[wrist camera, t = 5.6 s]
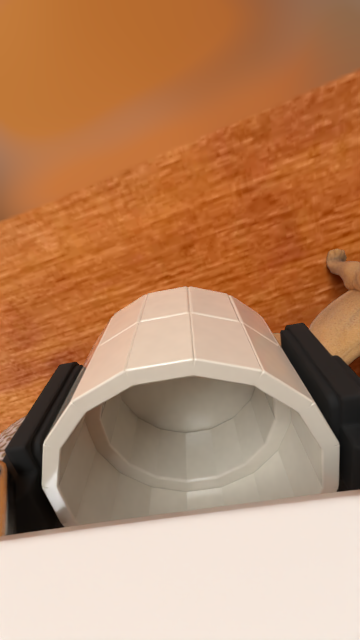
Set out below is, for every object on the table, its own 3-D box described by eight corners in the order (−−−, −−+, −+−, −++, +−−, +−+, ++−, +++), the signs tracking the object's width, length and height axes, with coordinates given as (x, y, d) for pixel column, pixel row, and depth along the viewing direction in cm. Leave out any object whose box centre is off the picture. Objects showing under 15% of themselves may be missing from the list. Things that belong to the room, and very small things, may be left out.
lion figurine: (364, 183, 19) (510, 184, 11) (418, 235, 21) (583, 270, 12) (216, 353, 24) (239, 444, 16) (268, 387, 25) (314, 486, 17)
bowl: (269, 265, 10) (343, 333, 6) (281, 424, 13) (338, 557, 8) (70, 302, 11) (-11, 392, 6) (122, 448, 13) (93, 586, 9)
